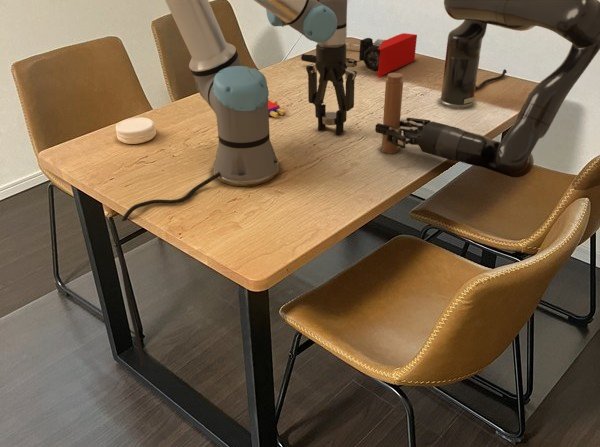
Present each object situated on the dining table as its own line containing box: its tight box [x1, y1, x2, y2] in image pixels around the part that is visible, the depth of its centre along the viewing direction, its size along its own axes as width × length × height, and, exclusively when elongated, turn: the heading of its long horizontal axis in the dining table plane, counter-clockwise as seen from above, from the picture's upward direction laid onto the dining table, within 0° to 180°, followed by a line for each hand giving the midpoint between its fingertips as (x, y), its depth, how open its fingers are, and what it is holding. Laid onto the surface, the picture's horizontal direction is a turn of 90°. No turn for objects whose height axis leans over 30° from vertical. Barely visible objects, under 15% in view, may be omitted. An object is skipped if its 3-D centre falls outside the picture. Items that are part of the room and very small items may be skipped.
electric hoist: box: [300, 32, 418, 78], centre depth 210 cm, size 10×27×30 cm
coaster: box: [114, 116, 157, 145], centre depth 162 cm, size 10×10×4 cm
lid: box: [322, 111, 336, 126], centre depth 163 cm, size 5×5×2 cm
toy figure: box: [268, 99, 286, 118], centre depth 176 cm, size 2×7×12 cm
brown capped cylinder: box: [381, 72, 404, 154], centre depth 149 cm, size 4×4×19 cm
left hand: (330, 131), depth 165 cm, fingers closed on lid, 5 cm apart
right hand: (381, 124), depth 153 cm, fingers closed on brown capped cylinder, 4 cm apart
